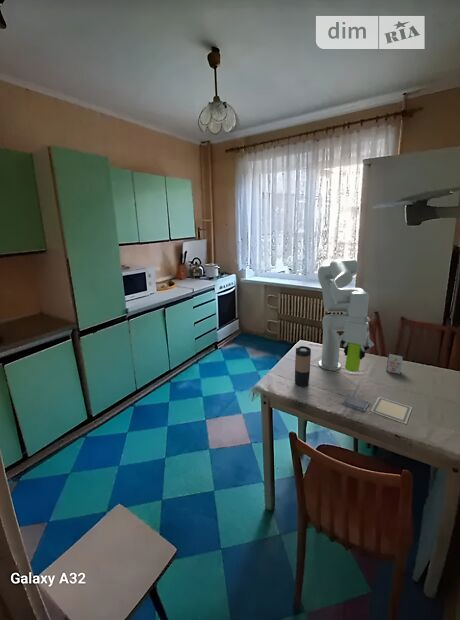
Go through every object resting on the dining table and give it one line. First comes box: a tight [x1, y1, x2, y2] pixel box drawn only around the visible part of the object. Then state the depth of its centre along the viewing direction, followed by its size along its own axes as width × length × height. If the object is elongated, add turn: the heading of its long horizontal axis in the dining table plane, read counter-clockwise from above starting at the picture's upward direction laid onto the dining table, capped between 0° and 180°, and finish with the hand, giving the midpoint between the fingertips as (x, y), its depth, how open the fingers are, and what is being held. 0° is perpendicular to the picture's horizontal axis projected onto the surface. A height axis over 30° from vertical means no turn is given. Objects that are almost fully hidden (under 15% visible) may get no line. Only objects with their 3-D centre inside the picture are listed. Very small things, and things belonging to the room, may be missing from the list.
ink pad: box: [341, 394, 371, 413], centre depth 135 cm, size 8×10×1 cm
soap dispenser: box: [344, 343, 362, 373], centre depth 132 cm, size 6×7×20 cm
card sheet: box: [370, 396, 413, 425], centre depth 131 cm, size 14×14×1 cm
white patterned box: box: [385, 353, 404, 375], centre depth 161 cm, size 4×7×10 cm, turn 55°
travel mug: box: [294, 345, 312, 388], centre depth 151 cm, size 8×8×20 cm
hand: (353, 356), depth 133 cm, fingers closed on soap dispenser, 6 cm apart
